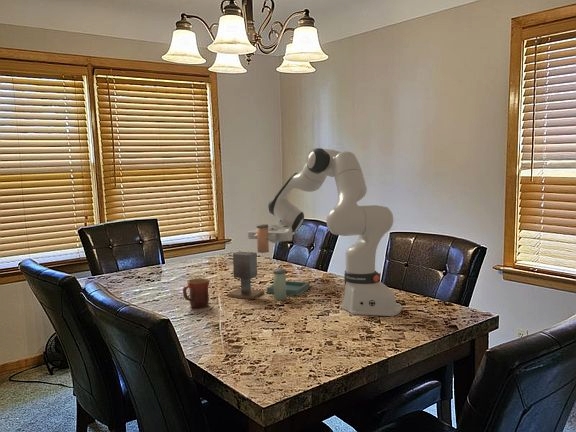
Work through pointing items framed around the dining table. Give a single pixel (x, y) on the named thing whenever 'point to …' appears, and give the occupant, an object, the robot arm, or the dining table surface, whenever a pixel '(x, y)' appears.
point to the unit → (245, 275)
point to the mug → (197, 292)
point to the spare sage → (279, 284)
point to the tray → (291, 287)
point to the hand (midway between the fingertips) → (261, 237)
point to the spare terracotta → (262, 238)
